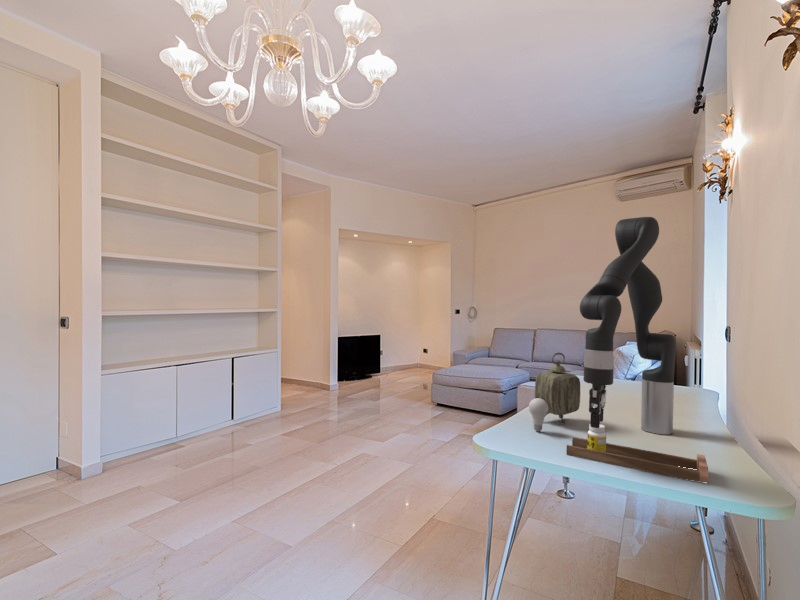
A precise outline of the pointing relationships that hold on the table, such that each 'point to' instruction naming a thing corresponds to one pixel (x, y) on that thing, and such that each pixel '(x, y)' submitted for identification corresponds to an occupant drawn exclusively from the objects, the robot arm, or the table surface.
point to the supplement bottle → (596, 438)
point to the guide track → (643, 460)
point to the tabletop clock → (558, 390)
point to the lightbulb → (538, 412)
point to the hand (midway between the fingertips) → (596, 424)
